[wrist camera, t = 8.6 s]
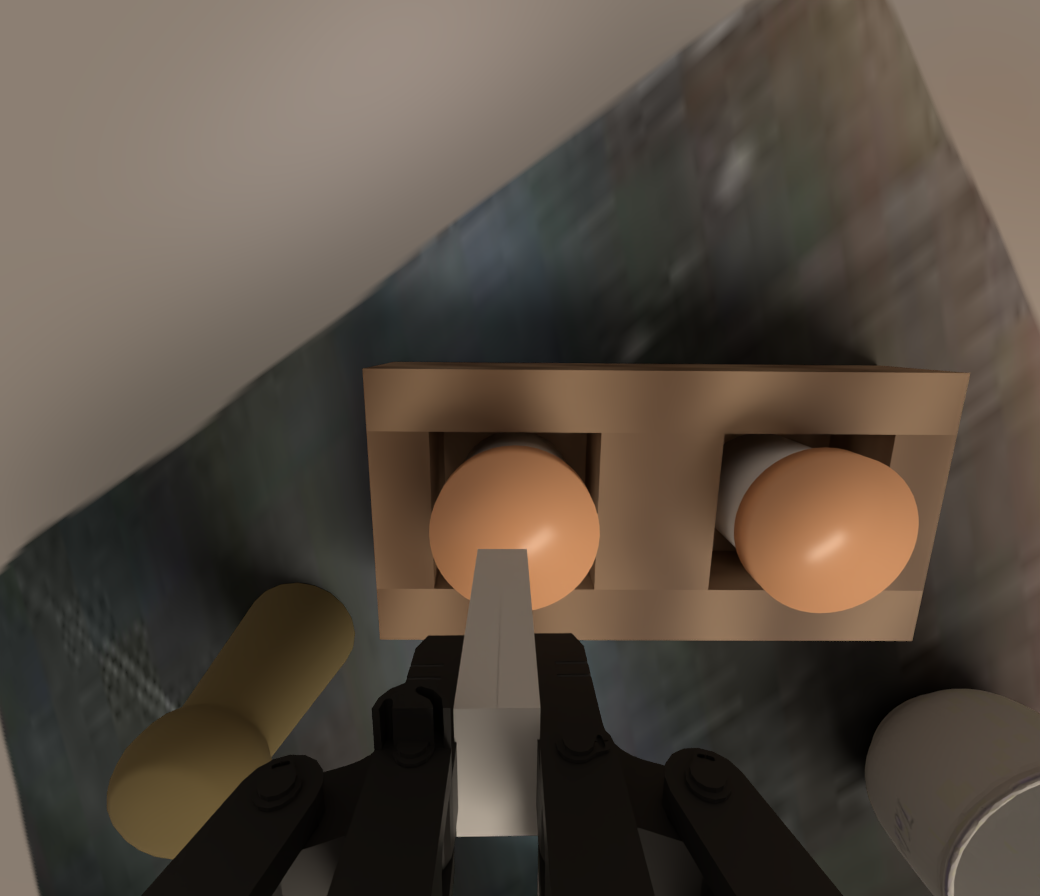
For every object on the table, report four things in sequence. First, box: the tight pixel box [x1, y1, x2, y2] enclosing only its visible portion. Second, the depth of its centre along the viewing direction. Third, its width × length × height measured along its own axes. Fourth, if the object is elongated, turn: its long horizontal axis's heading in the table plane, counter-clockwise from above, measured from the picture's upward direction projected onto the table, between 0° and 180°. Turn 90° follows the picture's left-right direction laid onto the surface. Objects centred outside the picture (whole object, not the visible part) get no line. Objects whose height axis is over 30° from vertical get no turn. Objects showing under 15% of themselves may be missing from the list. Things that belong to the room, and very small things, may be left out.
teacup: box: [865, 689, 1040, 896], centre depth 25 cm, size 14×11×8 cm
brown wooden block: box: [363, 362, 970, 641], centre depth 23 cm, size 24×12×5 cm, turn 90°
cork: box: [107, 583, 355, 859], centre depth 22 cm, size 6×6×11 cm
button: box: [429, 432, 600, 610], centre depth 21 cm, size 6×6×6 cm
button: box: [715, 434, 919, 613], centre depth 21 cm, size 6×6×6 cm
